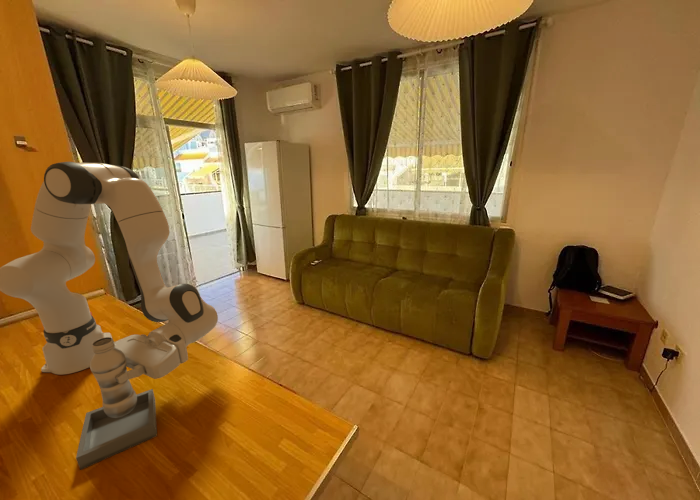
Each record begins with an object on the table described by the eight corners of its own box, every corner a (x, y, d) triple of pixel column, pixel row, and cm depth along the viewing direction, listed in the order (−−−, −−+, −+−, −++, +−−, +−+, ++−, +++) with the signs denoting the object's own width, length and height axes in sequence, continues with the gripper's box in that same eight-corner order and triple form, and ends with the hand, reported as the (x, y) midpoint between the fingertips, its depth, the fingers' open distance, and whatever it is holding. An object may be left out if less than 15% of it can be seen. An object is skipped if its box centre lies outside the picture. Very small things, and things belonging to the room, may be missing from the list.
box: (89, 423, 73) (86, 412, 72) (155, 398, 80) (152, 388, 79) (80, 469, 62) (75, 458, 61) (156, 436, 69) (154, 425, 68)
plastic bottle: (121, 424, 66) (100, 352, 60) (98, 419, 68) (74, 348, 62) (145, 402, 72) (128, 335, 67) (123, 398, 74) (104, 331, 68)
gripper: (137, 324, 81) (78, 352, 69) (188, 341, 74) (131, 376, 61) (142, 343, 83) (85, 374, 71) (192, 361, 75) (137, 400, 63)
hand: (107, 375), depth 66 cm, fingers closed on plastic bottle, 6 cm apart
